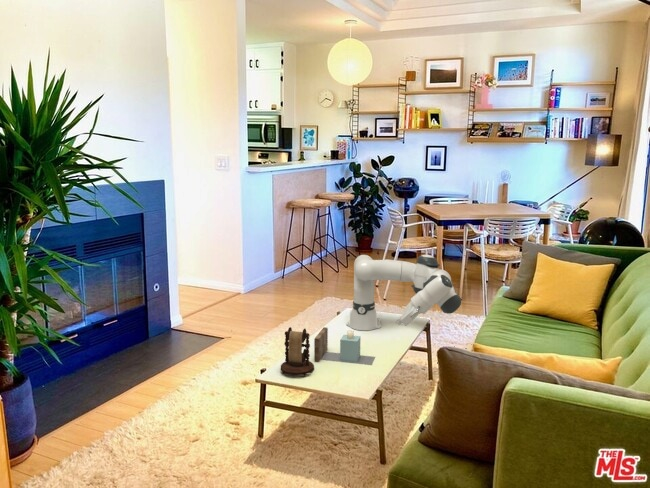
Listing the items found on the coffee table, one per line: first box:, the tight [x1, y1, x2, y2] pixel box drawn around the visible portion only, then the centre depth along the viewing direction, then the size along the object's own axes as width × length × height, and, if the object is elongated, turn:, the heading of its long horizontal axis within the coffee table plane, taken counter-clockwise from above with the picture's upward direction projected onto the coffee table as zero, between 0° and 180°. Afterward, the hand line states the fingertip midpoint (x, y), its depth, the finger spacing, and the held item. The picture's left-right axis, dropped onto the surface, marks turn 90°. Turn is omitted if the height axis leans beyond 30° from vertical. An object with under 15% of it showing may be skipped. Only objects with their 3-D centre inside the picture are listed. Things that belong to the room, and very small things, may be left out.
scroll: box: [280, 327, 315, 378], centre depth 236 cm, size 15×15×20 cm
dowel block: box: [339, 330, 361, 362], centre depth 249 cm, size 7×8×13 cm
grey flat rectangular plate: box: [320, 351, 376, 366], centre depth 250 cm, size 10×24×1 cm, turn 75°
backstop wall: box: [313, 327, 329, 363], centre depth 253 cm, size 16×2×12 cm, turn 165°
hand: (397, 323), depth 241 cm, fingers closed
